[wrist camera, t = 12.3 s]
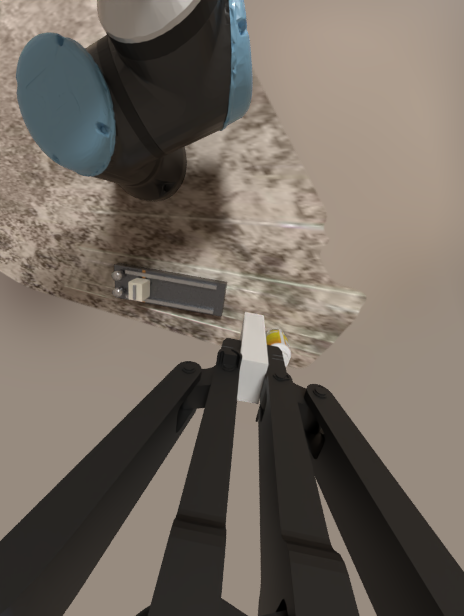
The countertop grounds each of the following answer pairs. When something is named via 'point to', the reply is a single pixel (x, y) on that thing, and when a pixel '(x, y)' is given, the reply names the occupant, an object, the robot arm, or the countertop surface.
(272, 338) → the supplement bottle
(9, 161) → the countertop surface
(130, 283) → the fader tab
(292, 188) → the countertop surface
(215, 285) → the console
